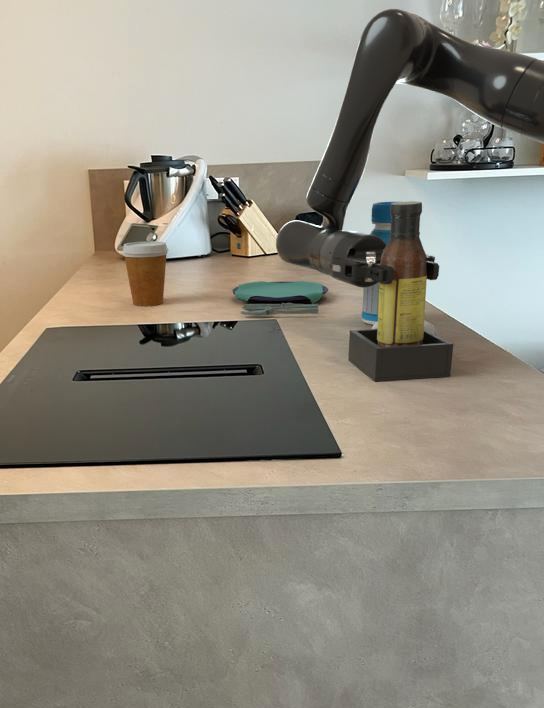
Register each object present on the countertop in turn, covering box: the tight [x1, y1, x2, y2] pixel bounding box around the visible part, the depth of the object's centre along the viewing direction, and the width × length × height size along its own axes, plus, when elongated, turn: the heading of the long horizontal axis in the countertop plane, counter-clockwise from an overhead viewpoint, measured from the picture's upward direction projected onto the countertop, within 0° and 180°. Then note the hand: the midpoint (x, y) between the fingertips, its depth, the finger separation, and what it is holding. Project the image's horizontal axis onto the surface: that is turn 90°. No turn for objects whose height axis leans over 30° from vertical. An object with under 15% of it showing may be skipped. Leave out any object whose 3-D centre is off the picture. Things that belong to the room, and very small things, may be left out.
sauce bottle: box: [377, 200, 428, 347], centre depth 106 cm, size 7×6×20 cm
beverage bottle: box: [361, 201, 395, 326], centre depth 136 cm, size 8×8×20 cm
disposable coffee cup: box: [121, 240, 169, 307], centre depth 162 cm, size 10×10×12 cm
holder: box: [347, 328, 454, 383], centre depth 110 cm, size 11×12×4 cm
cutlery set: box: [232, 280, 329, 316], centre depth 159 cm, size 20×30×2 cm, turn 171°
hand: (413, 274), depth 104 cm, fingers closed on sauce bottle, 6 cm apart
